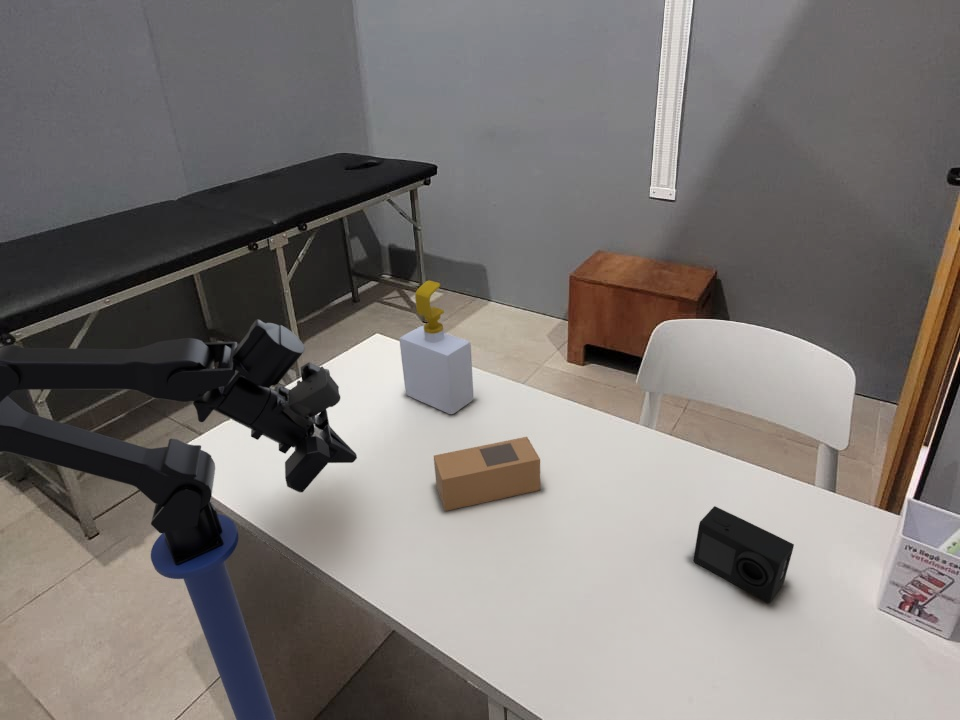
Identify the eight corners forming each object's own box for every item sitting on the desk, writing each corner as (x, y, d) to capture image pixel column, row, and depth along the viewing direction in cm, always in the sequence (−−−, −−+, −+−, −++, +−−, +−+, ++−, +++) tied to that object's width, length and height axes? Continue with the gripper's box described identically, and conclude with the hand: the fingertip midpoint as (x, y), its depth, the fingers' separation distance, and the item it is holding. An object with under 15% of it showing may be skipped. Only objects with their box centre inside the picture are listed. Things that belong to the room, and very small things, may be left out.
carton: (442, 479, 93) (540, 458, 96) (433, 455, 98) (527, 436, 101) (444, 511, 96) (540, 490, 99) (436, 486, 101) (527, 466, 104)
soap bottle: (475, 400, 122) (469, 285, 111) (452, 416, 118) (443, 298, 106) (427, 381, 129) (417, 270, 118) (404, 395, 125) (391, 282, 113)
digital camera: (687, 566, 85) (693, 526, 82) (707, 543, 89) (714, 504, 85) (765, 610, 79) (775, 569, 75) (783, 583, 82) (794, 543, 79)
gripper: (297, 399, 74) (402, 457, 82) (293, 329, 90) (381, 384, 97) (240, 467, 76) (347, 518, 84) (246, 388, 92) (336, 436, 100)
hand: (354, 458), depth 91 cm, fingers closed
